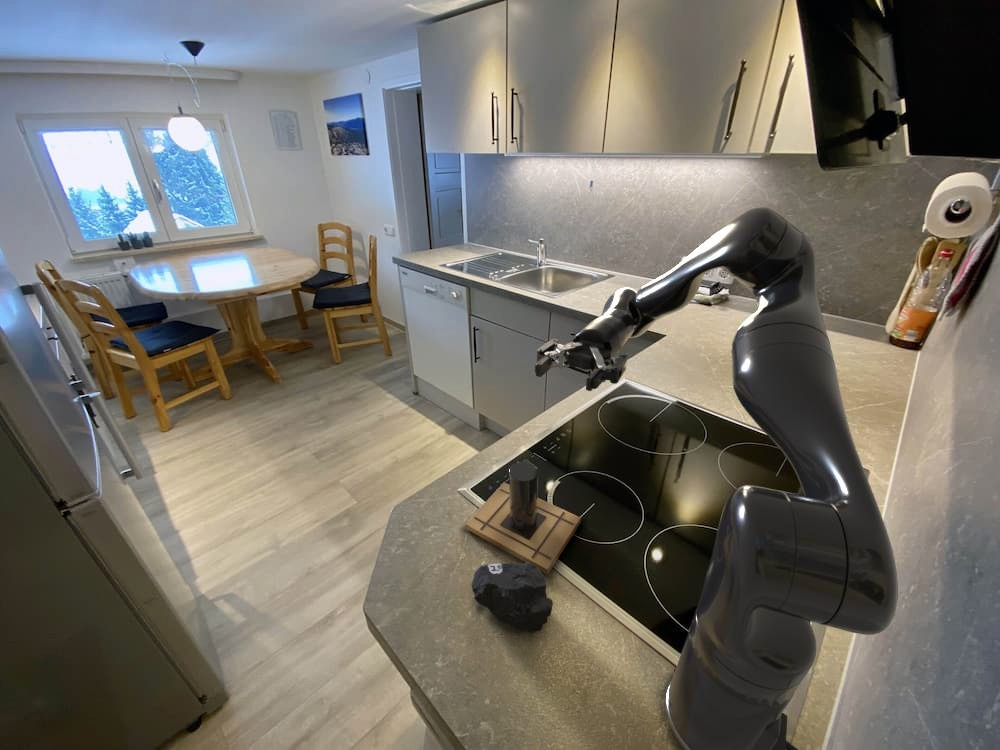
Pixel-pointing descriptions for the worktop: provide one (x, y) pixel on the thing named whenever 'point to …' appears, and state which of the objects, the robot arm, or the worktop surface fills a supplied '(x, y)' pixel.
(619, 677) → the worktop surface
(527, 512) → the tall black cylinder
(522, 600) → the mineral
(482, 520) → the board
